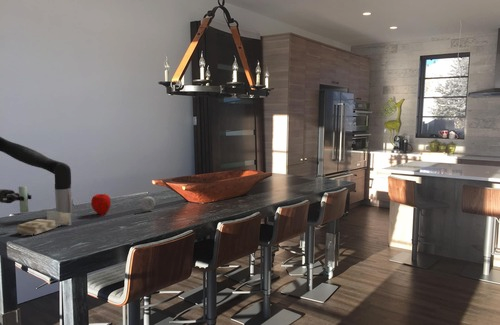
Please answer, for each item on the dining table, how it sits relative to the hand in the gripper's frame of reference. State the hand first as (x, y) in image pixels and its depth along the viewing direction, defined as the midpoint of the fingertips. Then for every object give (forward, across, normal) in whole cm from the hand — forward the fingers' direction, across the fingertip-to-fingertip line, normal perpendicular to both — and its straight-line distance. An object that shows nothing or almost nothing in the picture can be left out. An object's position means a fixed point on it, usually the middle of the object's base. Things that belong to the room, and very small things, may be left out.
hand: (27, 197), depth 221 cm
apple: (+13, +42, +18) cm, 48 cm away
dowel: (-3, 0, +8) cm, 8 cm away
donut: (+37, +59, +18) cm, 72 cm away
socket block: (+6, -1, +18) cm, 19 cm away
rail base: (+6, +3, +18) cm, 19 cm away
